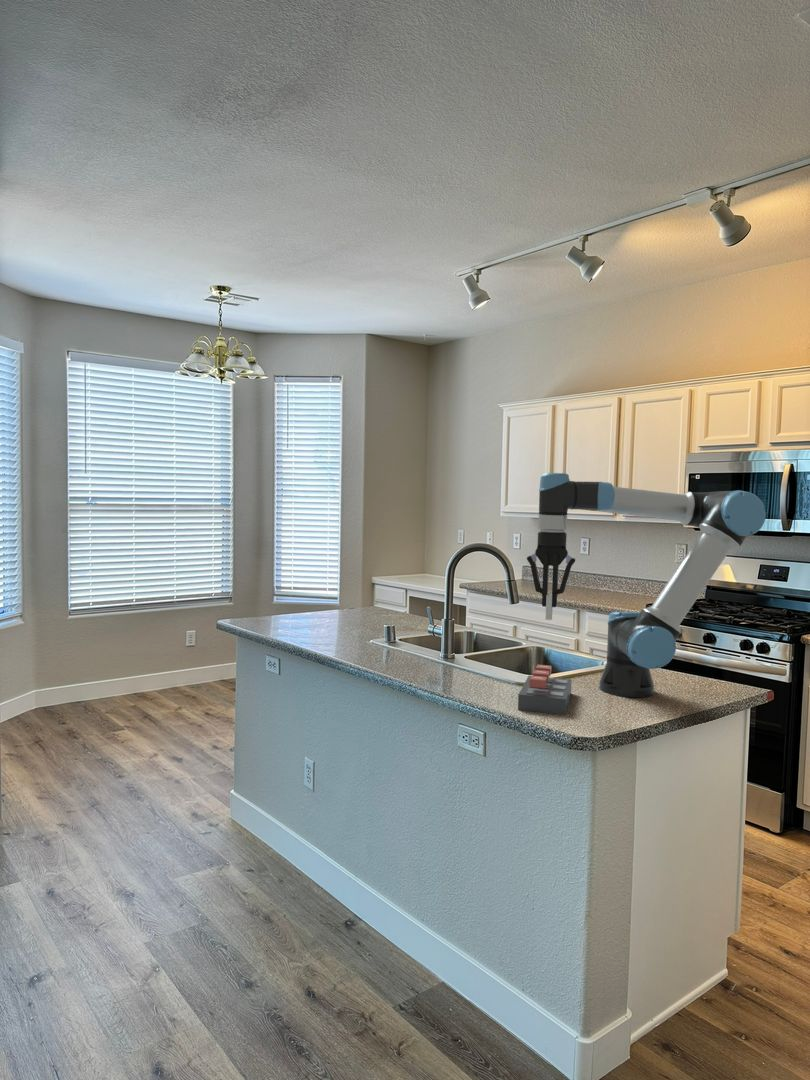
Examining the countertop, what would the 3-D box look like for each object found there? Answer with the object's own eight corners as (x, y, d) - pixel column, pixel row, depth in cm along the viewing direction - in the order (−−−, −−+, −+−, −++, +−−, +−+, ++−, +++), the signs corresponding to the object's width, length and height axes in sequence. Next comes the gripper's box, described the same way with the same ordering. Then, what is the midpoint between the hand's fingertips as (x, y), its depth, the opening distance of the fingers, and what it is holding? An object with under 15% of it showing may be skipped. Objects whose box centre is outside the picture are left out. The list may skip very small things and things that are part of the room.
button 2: (549, 678, 203) (549, 670, 203) (547, 681, 199) (547, 674, 199) (534, 677, 204) (534, 669, 204) (532, 680, 200) (532, 672, 200)
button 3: (546, 684, 196) (546, 676, 196) (545, 688, 192) (545, 680, 192) (531, 683, 197) (531, 675, 197) (529, 686, 193) (529, 678, 193)
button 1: (551, 672, 209) (551, 665, 209) (550, 676, 206) (550, 668, 205) (537, 671, 210) (537, 664, 210) (535, 674, 207) (535, 667, 207)
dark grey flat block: (571, 690, 213) (572, 676, 213) (565, 714, 189) (565, 698, 189) (529, 686, 216) (530, 672, 216) (517, 709, 192) (518, 693, 192)
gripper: (578, 531, 200) (574, 618, 202) (529, 529, 204) (526, 615, 205) (576, 532, 193) (572, 622, 195) (525, 530, 197) (522, 619, 198)
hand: (548, 618), depth 200 cm, fingers closed
